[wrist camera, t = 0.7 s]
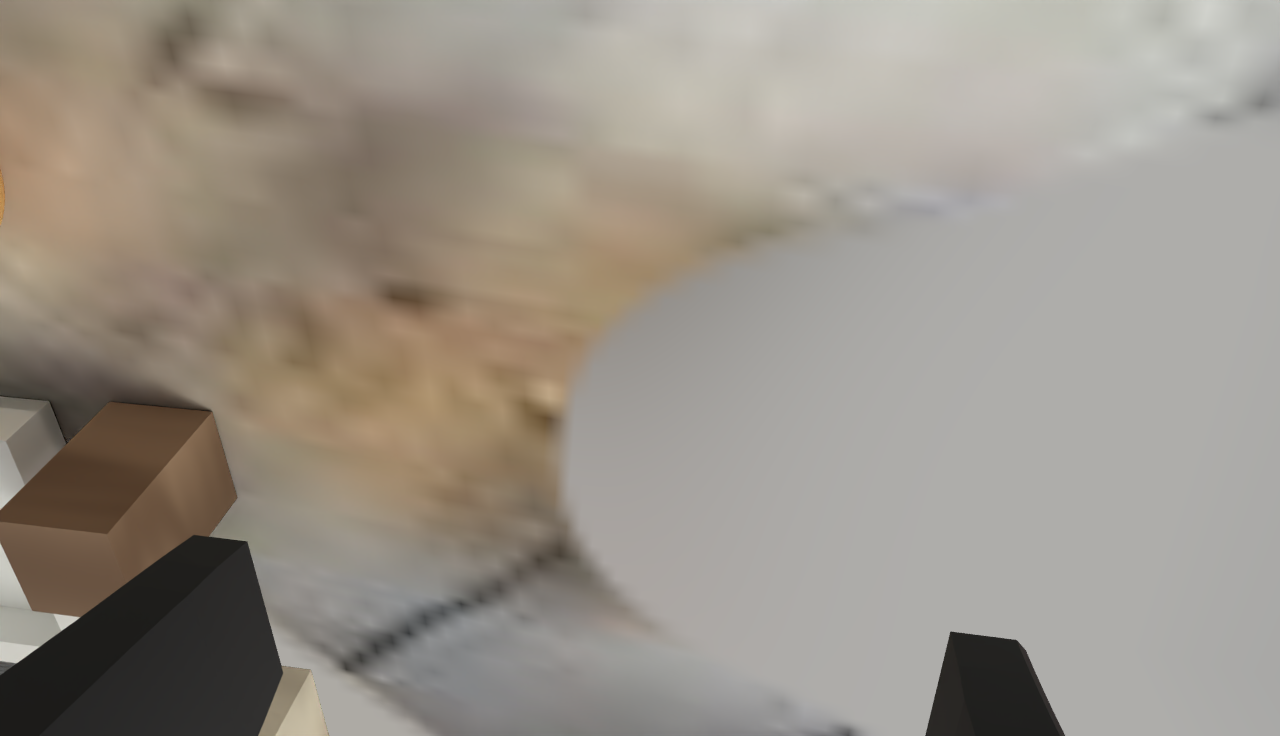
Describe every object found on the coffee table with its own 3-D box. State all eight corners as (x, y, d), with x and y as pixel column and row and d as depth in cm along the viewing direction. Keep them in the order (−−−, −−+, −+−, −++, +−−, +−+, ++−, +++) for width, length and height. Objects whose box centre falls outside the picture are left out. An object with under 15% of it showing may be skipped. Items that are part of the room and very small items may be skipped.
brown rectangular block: (237, 497, 25) (142, 625, 21) (139, 487, 25) (32, 611, 22) (211, 411, 23) (106, 534, 20) (109, 401, 24) (-11, 520, 20)
